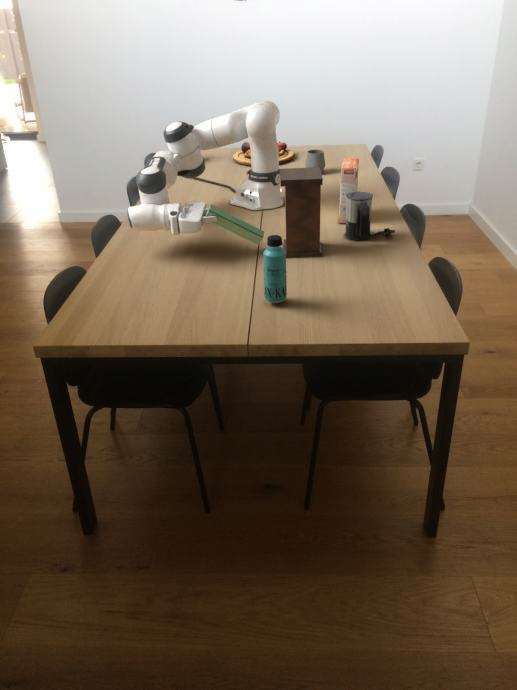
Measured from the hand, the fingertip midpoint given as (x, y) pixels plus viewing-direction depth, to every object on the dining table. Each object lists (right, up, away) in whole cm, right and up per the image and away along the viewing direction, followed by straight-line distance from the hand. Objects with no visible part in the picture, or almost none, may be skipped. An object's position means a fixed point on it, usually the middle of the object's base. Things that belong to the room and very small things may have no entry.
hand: (217, 215), depth 190 cm
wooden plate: (+16, +54, +109) cm, 123 cm away
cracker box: (+48, +6, +31) cm, 57 cm away
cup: (+41, +39, +83) cm, 100 cm away
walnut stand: (+28, -10, +6) cm, 30 cm away
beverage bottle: (+19, -31, -25) cm, 44 cm away
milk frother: (+53, -5, +14) cm, 55 cm away
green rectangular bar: (+5, -4, +3) cm, 7 cm away
